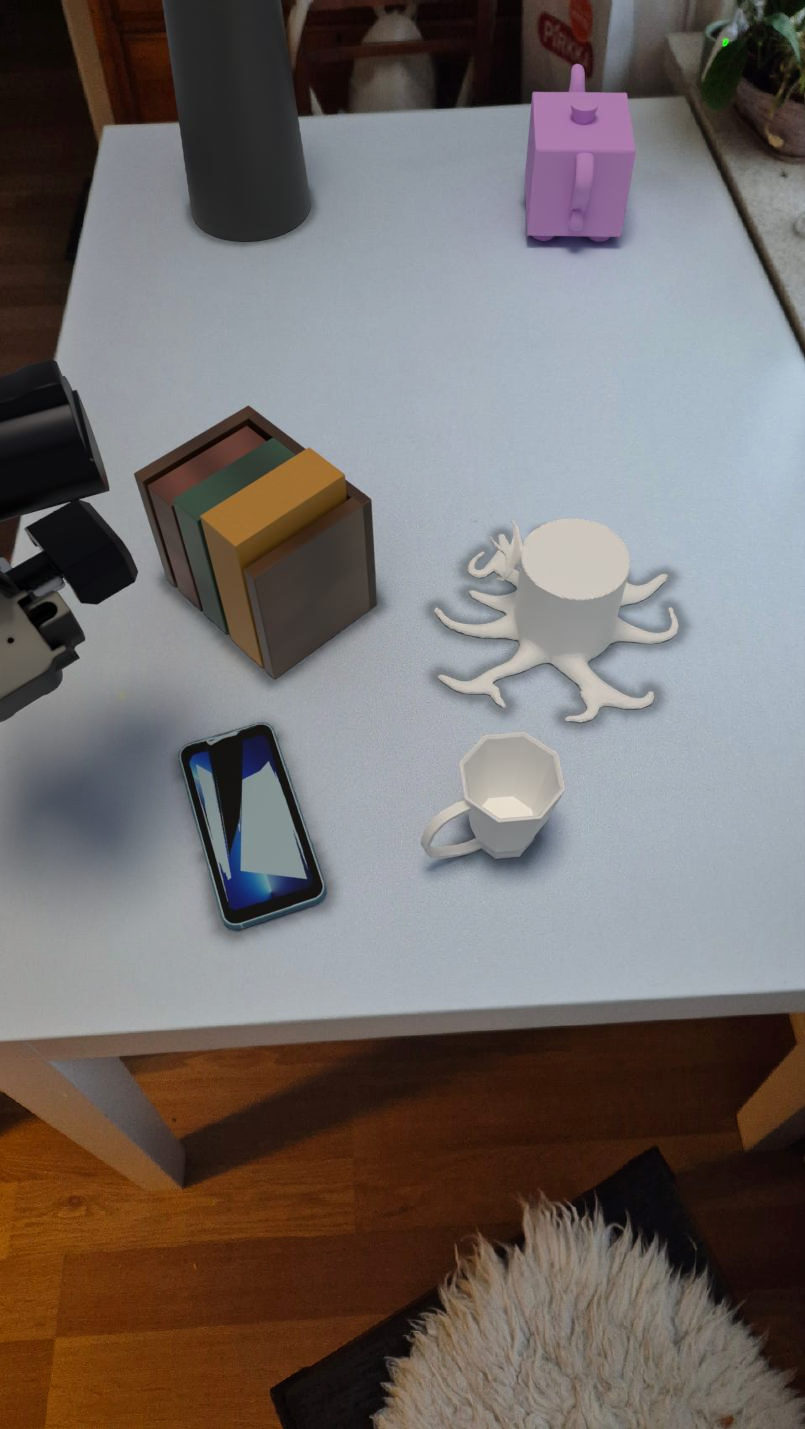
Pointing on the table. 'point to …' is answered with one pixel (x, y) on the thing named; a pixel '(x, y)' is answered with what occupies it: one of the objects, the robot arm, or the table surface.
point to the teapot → (578, 162)
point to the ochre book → (265, 530)
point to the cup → (502, 796)
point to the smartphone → (250, 826)
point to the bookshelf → (288, 580)
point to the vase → (237, 117)
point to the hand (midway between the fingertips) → (23, 697)
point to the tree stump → (561, 608)
